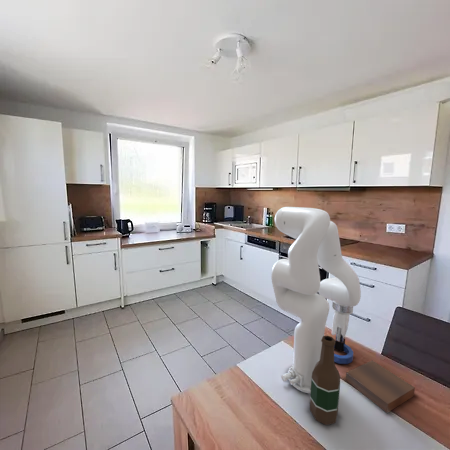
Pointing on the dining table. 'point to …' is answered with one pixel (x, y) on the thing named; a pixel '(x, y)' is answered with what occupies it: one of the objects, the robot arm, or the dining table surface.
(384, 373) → the platform
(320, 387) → the beer bottle
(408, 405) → the dining table surface
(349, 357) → the ring
